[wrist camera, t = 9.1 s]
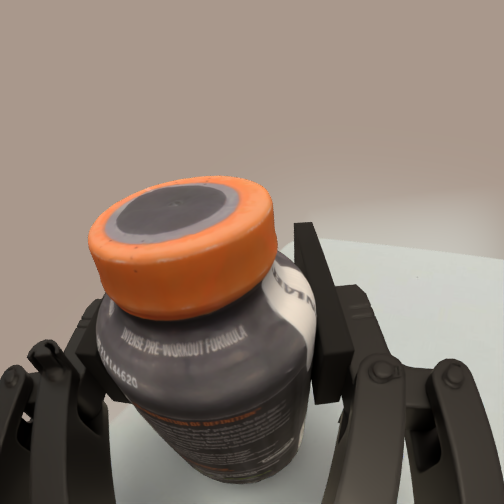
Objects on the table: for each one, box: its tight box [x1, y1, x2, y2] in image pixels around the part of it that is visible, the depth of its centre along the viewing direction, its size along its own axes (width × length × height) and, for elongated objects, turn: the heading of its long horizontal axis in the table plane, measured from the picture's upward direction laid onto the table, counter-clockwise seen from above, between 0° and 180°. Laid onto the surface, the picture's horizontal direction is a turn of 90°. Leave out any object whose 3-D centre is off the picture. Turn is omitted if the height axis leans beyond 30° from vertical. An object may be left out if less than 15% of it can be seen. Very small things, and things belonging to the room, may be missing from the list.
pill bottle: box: [88, 176, 317, 484], centre depth 9 cm, size 6×6×11 cm
